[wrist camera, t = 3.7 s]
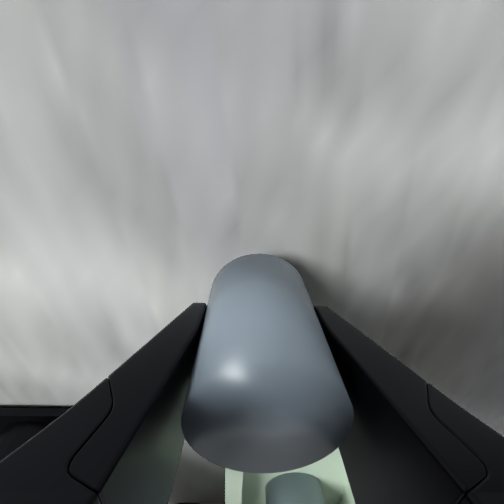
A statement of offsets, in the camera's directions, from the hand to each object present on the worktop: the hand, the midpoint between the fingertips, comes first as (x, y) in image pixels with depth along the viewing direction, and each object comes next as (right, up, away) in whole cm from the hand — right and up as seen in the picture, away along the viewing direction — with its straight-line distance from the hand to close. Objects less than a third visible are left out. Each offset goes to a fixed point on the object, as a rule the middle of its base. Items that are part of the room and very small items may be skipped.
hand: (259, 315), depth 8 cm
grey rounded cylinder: (0, 0, +1) cm, 1 cm away
